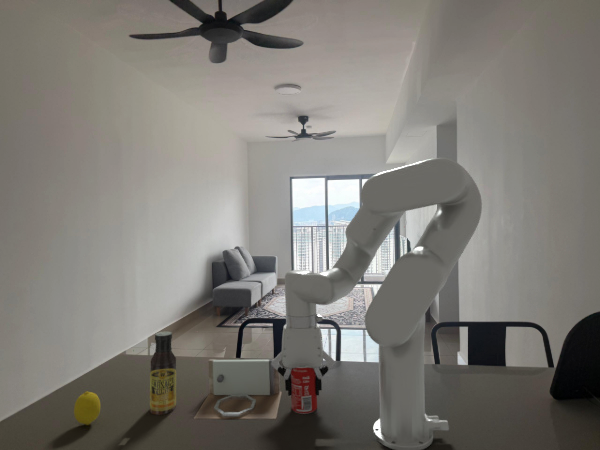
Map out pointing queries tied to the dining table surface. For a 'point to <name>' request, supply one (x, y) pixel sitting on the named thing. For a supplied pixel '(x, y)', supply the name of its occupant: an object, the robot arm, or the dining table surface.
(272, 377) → the door
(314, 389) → the beverage can
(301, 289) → the robot arm
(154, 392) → the sauce bottle
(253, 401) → the grey octagonal ring
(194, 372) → the dining table surface
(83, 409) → the lemon
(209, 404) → the base
